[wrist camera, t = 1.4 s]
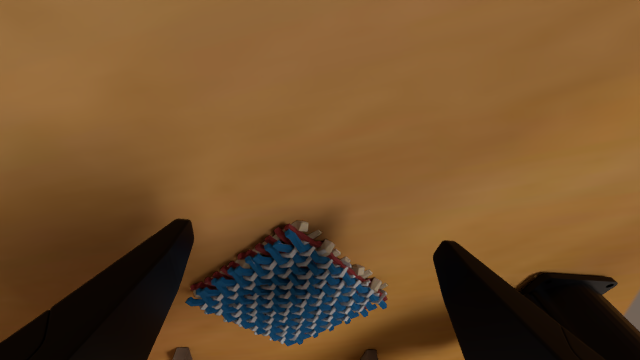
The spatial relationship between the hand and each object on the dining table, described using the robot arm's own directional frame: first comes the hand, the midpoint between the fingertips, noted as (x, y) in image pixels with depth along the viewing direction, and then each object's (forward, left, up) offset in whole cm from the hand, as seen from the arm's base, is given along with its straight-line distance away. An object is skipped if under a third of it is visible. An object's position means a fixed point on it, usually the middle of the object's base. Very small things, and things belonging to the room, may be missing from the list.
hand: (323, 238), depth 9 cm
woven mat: (0, +10, -5) cm, 11 cm away
